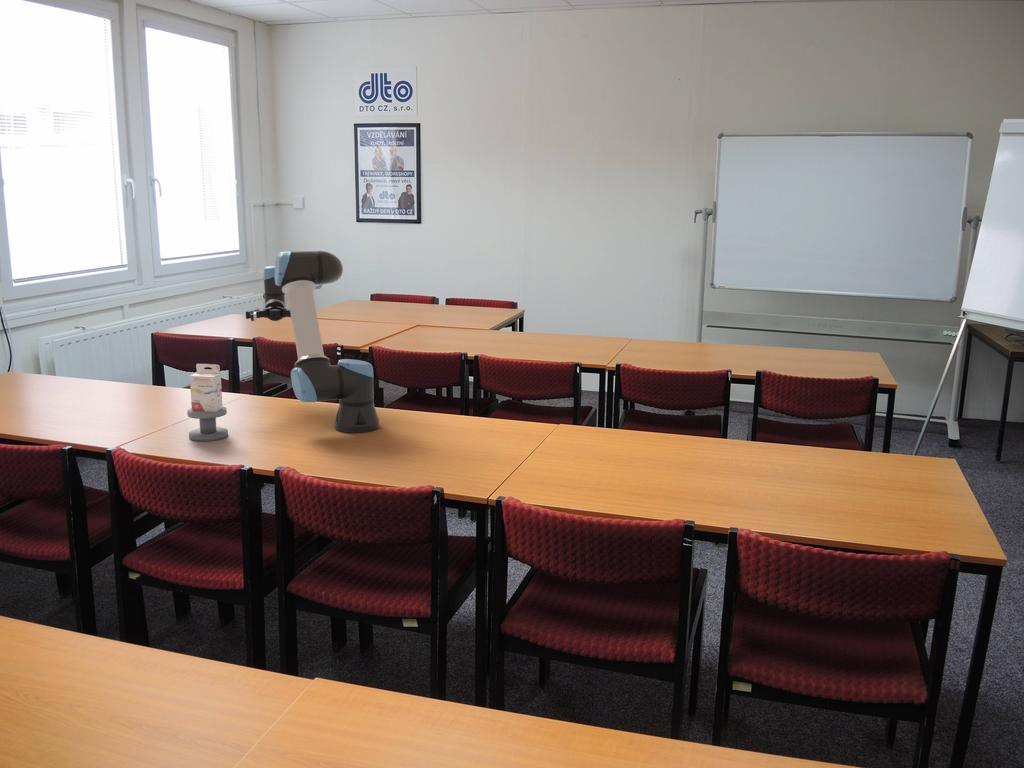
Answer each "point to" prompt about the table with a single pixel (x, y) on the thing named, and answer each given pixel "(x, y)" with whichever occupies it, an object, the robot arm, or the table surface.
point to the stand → (207, 425)
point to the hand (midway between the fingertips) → (274, 317)
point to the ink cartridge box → (206, 388)
